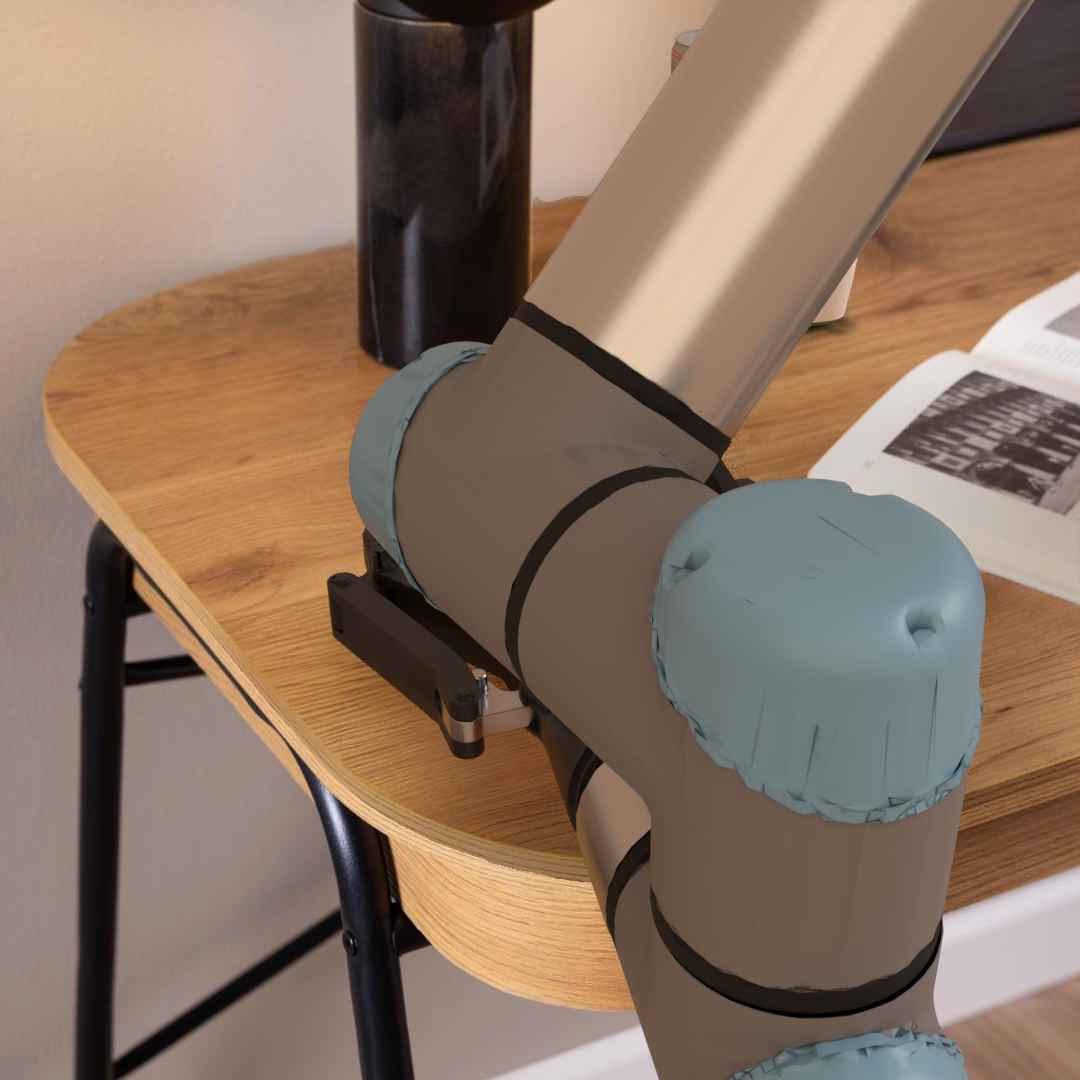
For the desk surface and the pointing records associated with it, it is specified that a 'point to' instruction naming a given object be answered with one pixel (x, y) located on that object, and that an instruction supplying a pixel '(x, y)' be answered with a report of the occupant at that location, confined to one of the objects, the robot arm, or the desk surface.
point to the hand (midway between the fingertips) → (543, 476)
